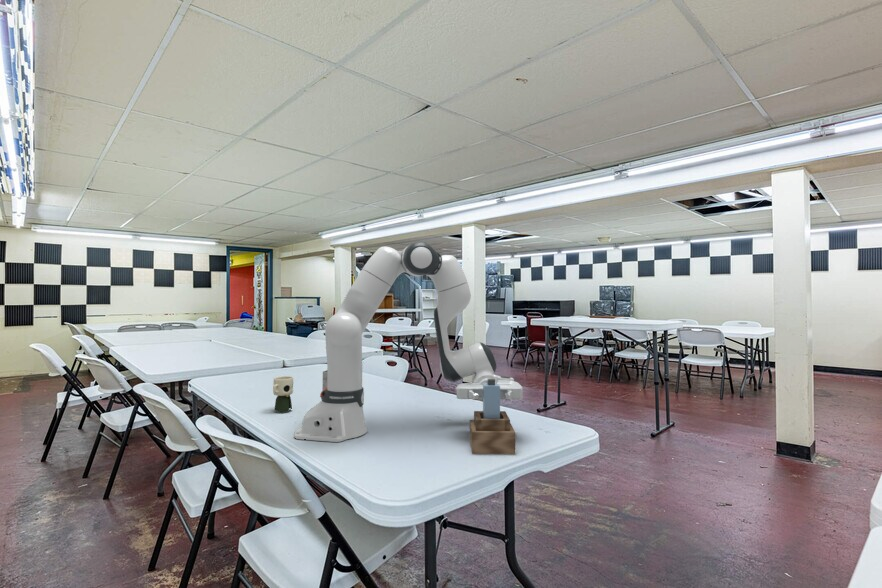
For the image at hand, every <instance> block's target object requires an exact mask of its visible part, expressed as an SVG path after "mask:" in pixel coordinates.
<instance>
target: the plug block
mask: <svg viewBox="0 0 882 588" xmlns="http://www.w3.org/2000/svg"><path fill="white" fill-rule="evenodd" d="M482 411H483V419H500V411H501V399H500V386H499V384H498V383H495V379H487V383H483V401H482Z"/></svg>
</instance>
